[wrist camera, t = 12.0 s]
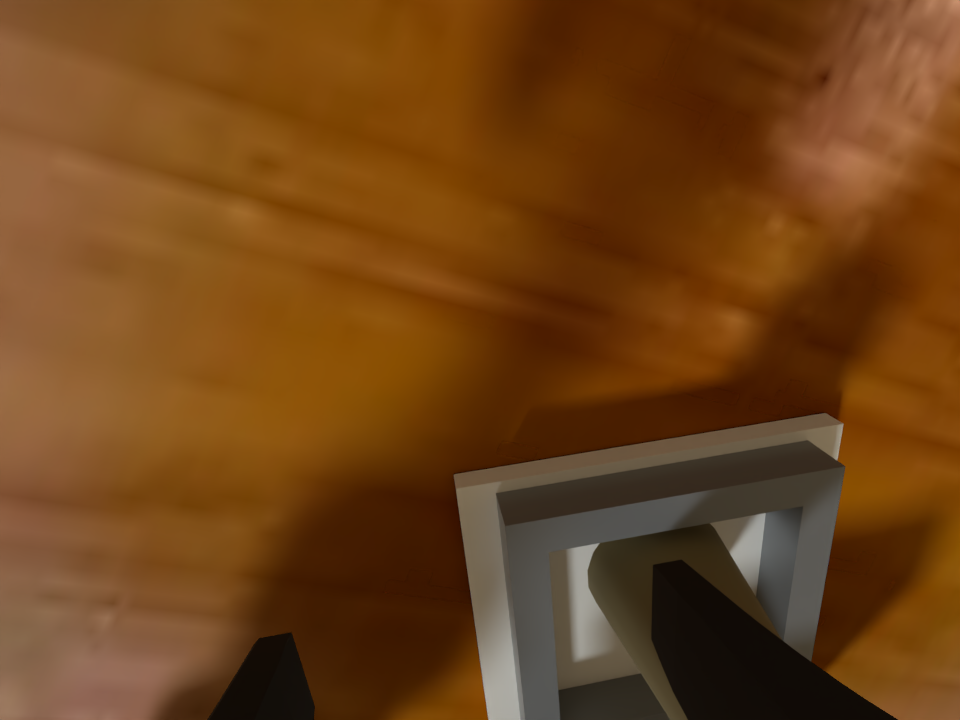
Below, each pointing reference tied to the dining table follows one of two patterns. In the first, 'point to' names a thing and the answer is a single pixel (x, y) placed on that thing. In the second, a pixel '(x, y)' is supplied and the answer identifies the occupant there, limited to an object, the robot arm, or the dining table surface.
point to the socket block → (629, 513)
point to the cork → (628, 591)
